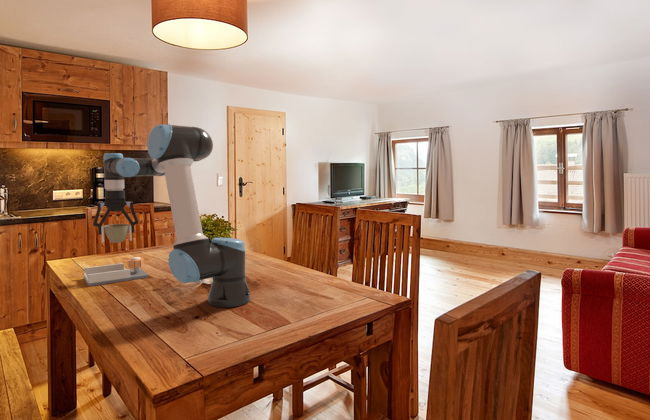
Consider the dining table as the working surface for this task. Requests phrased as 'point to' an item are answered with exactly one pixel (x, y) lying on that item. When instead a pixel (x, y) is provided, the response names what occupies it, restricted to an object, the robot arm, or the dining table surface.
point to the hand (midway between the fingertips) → (117, 241)
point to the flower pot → (116, 232)
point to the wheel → (136, 262)
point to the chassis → (111, 274)
